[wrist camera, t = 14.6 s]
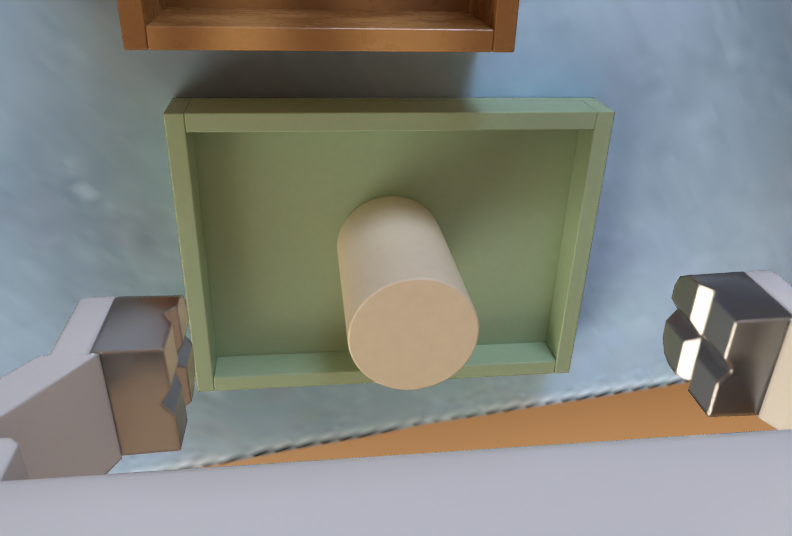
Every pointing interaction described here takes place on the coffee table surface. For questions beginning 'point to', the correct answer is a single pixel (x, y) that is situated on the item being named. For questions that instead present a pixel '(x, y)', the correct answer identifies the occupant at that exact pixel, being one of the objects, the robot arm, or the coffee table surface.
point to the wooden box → (320, 25)
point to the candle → (403, 296)
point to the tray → (366, 180)
